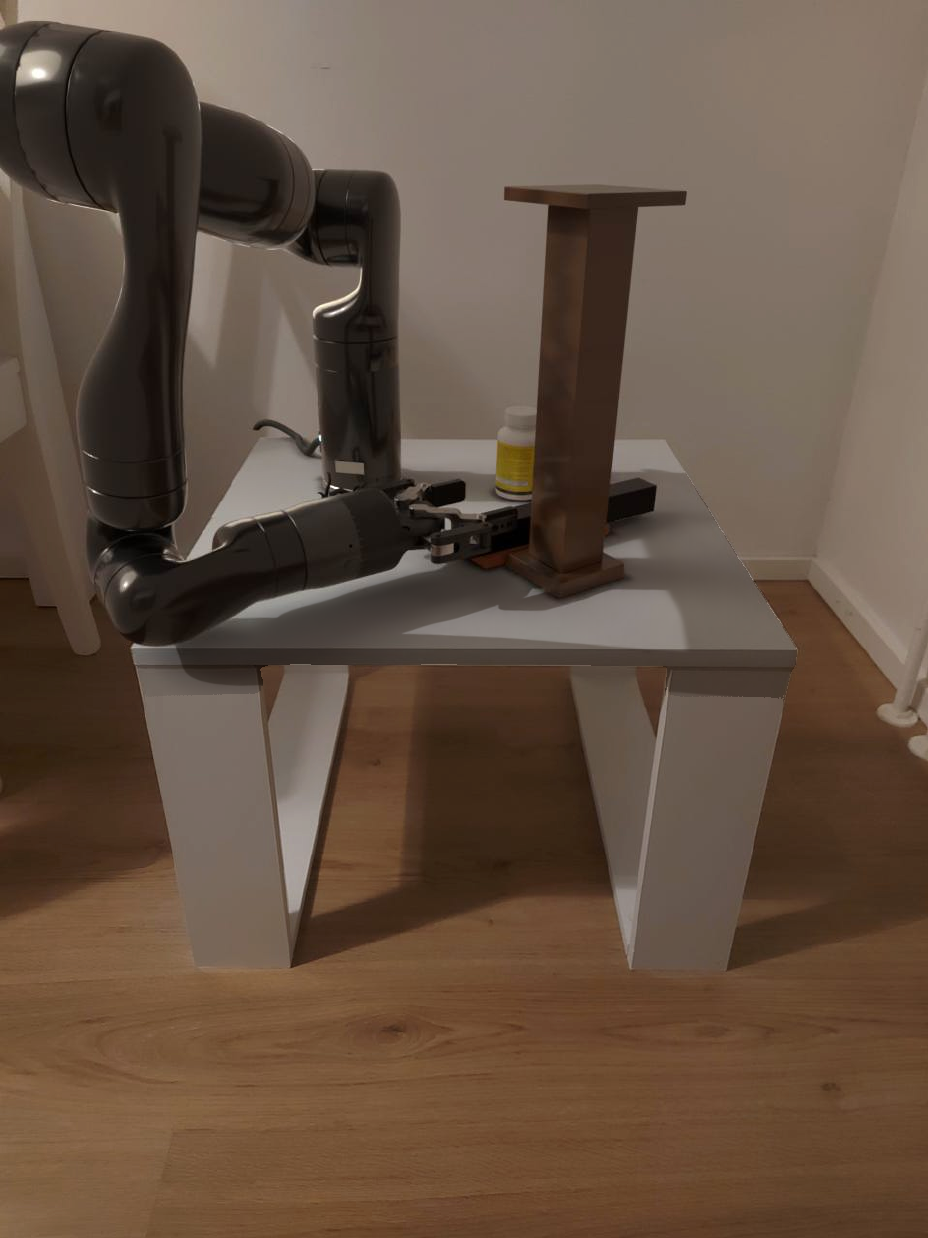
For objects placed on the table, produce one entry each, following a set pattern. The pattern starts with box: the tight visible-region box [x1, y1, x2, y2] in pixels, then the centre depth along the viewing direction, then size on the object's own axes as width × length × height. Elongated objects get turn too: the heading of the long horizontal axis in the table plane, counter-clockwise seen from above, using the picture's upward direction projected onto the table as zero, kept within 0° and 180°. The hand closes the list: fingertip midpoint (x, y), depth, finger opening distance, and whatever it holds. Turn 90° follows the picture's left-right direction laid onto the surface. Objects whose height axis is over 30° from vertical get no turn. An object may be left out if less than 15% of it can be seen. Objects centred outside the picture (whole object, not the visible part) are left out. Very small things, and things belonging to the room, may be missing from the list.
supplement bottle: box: [494, 405, 537, 501], centre depth 99 cm, size 5×5×10 cm
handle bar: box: [460, 477, 658, 560], centre depth 89 cm, size 3×24×3 cm
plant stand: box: [503, 183, 688, 599], centre depth 75 cm, size 10×10×33 cm
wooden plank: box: [470, 523, 611, 570], centre depth 89 cm, size 5×16×1 cm, turn 124°
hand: (488, 502), depth 84 cm, fingers open, 8 cm apart
